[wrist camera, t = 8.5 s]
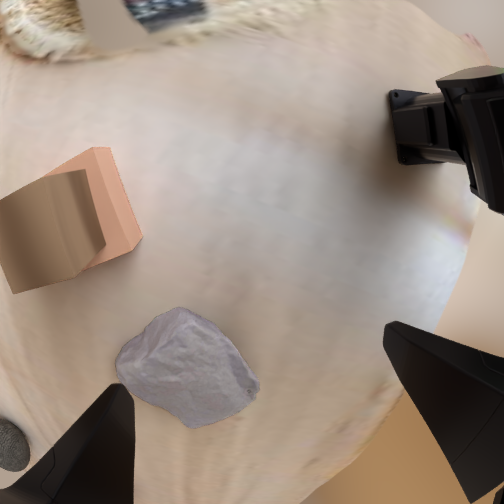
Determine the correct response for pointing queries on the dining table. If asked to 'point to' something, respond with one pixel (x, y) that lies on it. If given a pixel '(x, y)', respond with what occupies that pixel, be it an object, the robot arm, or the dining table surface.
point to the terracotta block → (106, 202)
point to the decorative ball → (13, 448)
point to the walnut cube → (48, 231)
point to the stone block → (187, 369)
